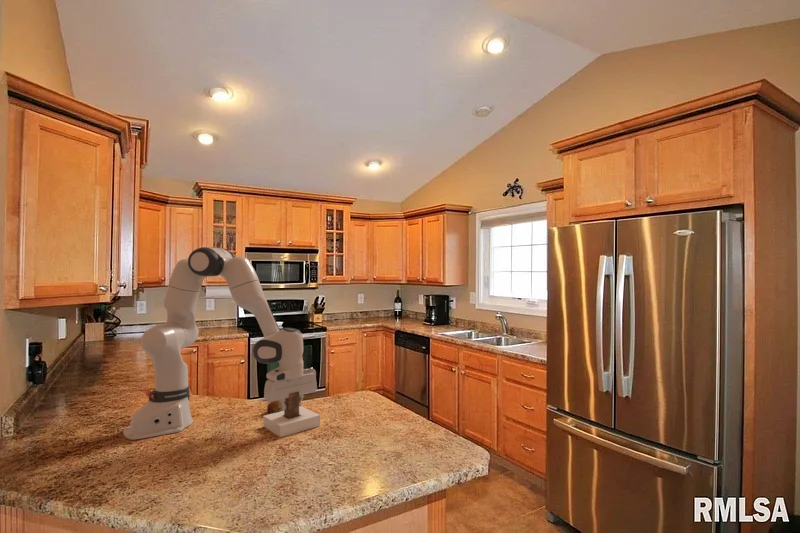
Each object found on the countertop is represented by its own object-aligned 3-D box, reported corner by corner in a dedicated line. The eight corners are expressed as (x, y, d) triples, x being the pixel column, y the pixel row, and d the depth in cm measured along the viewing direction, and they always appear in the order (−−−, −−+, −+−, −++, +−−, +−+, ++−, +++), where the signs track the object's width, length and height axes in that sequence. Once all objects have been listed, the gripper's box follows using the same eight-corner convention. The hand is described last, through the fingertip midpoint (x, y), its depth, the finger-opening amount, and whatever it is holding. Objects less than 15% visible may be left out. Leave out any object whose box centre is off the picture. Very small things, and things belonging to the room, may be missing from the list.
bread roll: (293, 419, 176) (296, 399, 179) (285, 416, 167) (288, 395, 170) (271, 418, 177) (274, 398, 180) (261, 415, 168) (265, 394, 171)
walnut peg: (289, 426, 155) (289, 393, 155) (284, 423, 158) (284, 391, 158) (299, 423, 158) (299, 391, 158) (294, 420, 161) (293, 389, 161)
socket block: (280, 437, 147) (280, 425, 147) (263, 426, 158) (263, 415, 158) (320, 425, 158) (320, 415, 158) (301, 416, 168) (301, 406, 168)
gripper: (311, 365, 167) (311, 400, 167) (262, 374, 154) (262, 412, 154) (319, 368, 163) (320, 404, 163) (269, 377, 149) (269, 416, 149)
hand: (291, 408), depth 158 cm, fingers closed on walnut peg, 4 cm apart
